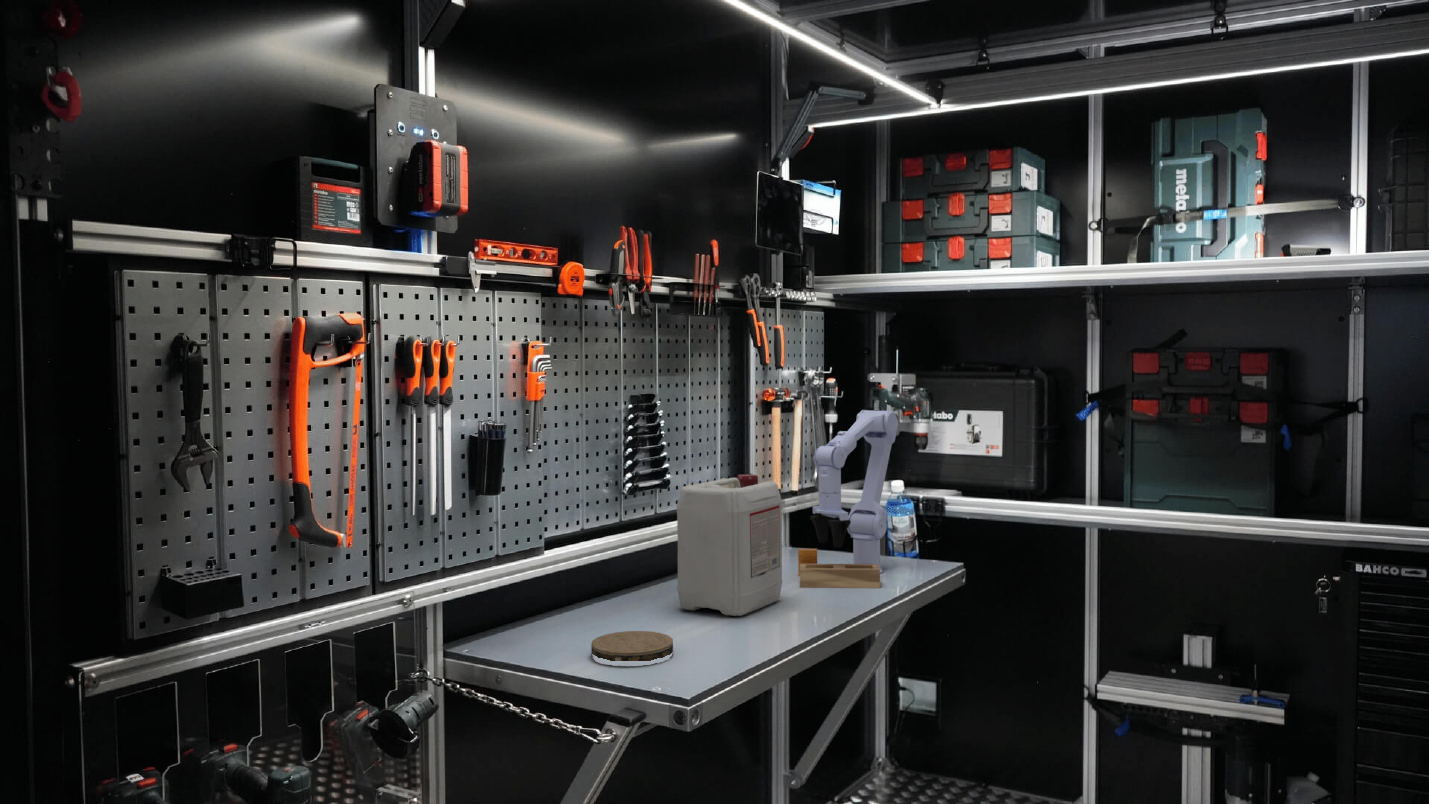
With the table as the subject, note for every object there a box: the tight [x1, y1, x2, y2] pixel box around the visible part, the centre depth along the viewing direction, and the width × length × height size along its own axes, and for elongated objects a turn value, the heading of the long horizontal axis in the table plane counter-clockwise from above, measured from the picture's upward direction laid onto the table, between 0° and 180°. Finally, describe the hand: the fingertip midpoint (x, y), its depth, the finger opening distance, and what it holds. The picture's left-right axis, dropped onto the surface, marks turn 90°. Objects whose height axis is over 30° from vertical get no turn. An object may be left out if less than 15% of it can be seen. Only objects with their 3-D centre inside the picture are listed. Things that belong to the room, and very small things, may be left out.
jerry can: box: [676, 474, 783, 617], centre depth 237 cm, size 24×19×30 cm
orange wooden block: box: [797, 548, 818, 577], centre depth 270 cm, size 2×5×7 cm, turn 85°
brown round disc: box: [591, 630, 674, 661], centre depth 197 cm, size 16×16×3 cm
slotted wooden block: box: [799, 563, 881, 589], centre depth 258 cm, size 8×20×4 cm, turn 85°
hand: (830, 544), depth 262 cm, fingers open, 7 cm apart
